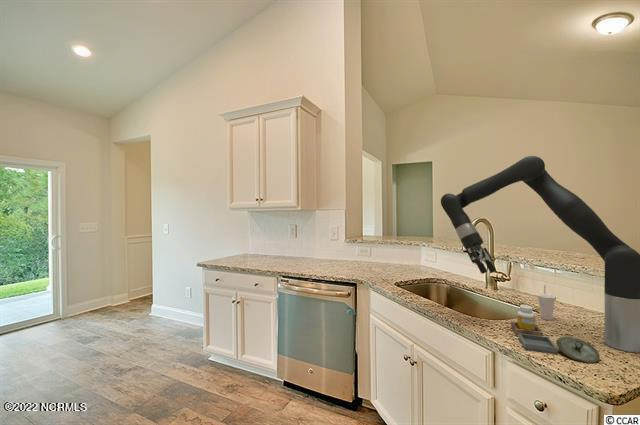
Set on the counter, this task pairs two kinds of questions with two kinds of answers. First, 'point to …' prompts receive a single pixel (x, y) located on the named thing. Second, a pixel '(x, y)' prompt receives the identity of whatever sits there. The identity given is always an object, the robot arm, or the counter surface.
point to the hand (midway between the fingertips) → (489, 272)
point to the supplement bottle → (526, 318)
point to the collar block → (517, 331)
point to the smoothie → (546, 305)
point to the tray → (537, 343)
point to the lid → (578, 349)
